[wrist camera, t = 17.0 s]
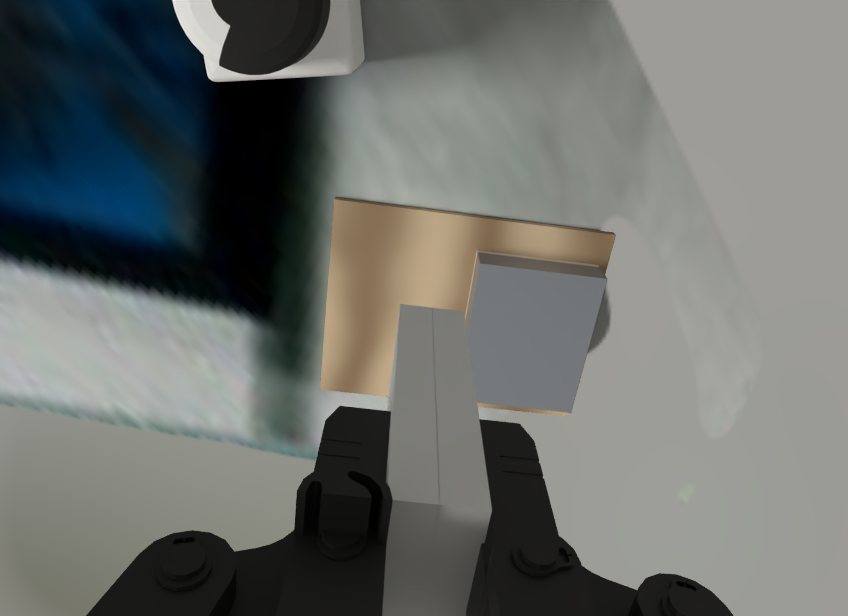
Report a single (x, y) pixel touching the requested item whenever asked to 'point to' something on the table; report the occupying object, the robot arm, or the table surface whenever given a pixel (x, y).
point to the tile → (530, 328)
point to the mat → (418, 277)
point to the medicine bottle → (274, 37)
